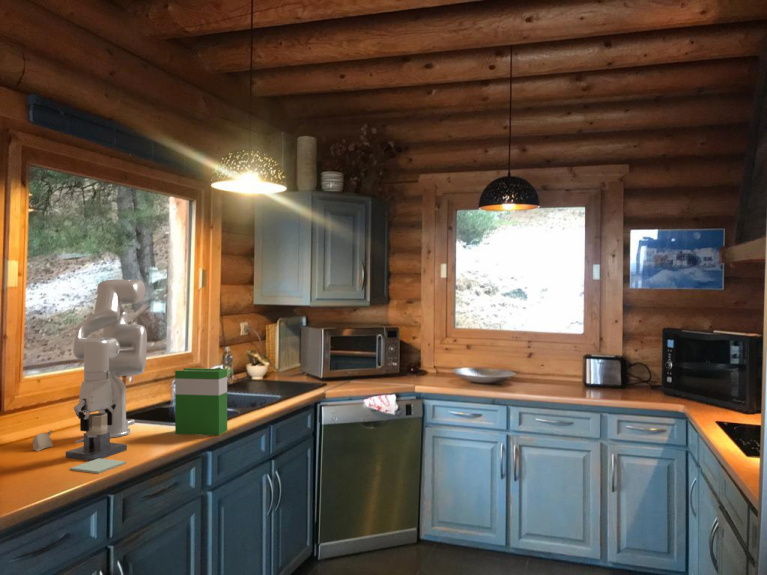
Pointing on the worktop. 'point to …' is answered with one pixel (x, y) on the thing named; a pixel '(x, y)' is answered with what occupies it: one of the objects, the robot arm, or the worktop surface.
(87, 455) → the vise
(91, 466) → the mat
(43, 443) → the decorative ornament
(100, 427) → the hollow octagonal tube
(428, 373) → the worktop surface
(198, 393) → the green banded box
